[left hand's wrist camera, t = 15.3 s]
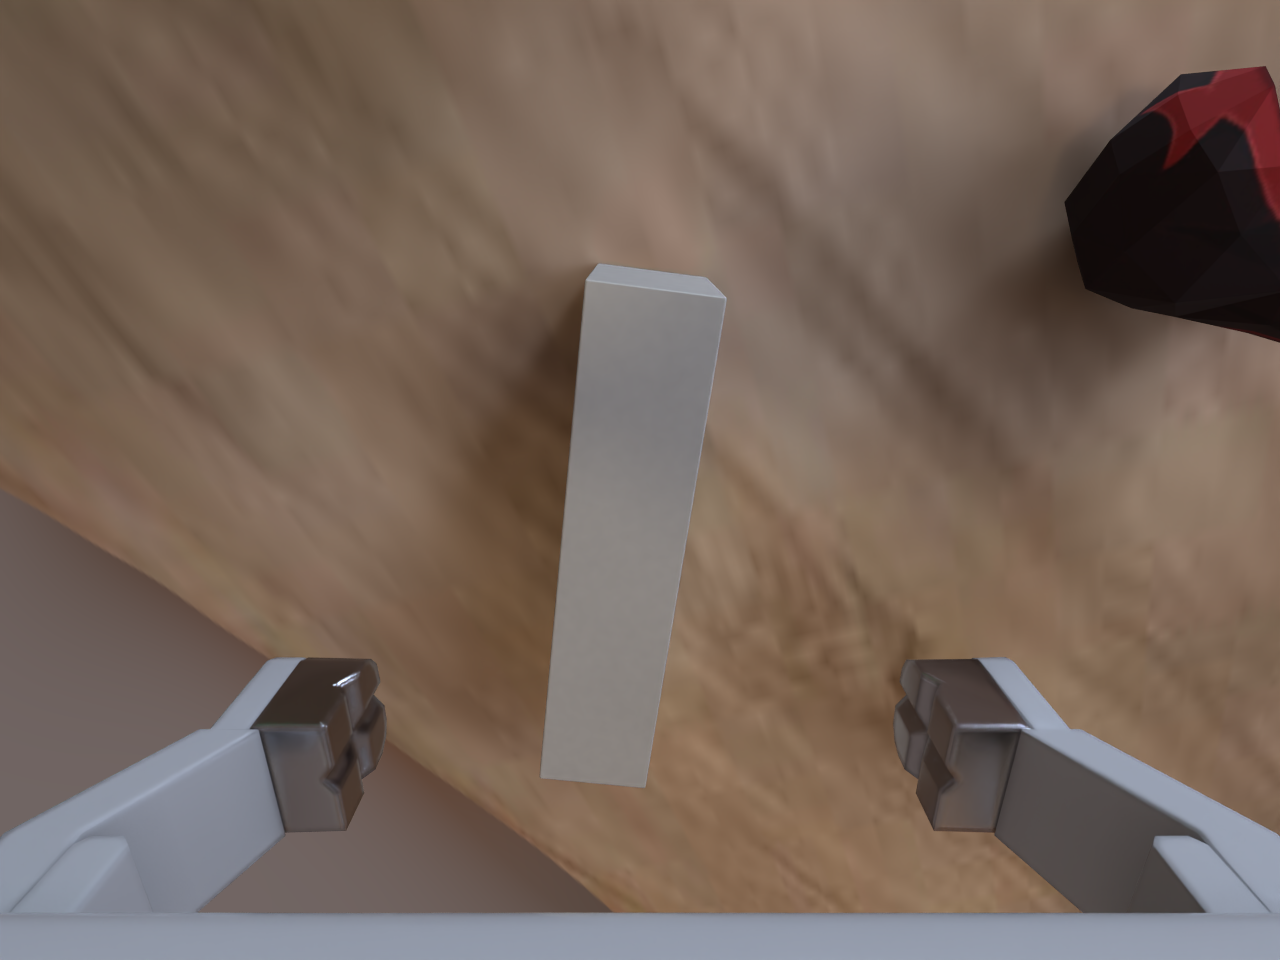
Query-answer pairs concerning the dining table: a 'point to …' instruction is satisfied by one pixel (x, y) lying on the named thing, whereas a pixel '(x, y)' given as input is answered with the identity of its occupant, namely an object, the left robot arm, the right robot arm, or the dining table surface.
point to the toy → (1189, 205)
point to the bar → (626, 515)
